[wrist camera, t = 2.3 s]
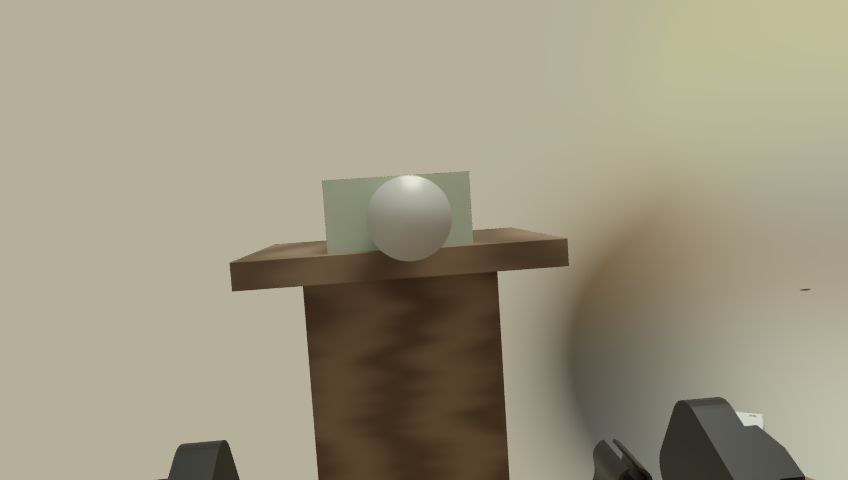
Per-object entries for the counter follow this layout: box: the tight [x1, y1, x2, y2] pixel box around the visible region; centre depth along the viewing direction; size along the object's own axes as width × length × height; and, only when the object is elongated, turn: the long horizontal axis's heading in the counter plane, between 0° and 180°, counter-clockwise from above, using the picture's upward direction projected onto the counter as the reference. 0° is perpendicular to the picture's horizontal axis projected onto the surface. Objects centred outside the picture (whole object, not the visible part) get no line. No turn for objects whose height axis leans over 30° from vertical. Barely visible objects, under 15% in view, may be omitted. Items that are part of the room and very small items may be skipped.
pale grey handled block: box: [322, 171, 473, 261], centre depth 31 cm, size 8×20×4 cm, turn 4°
